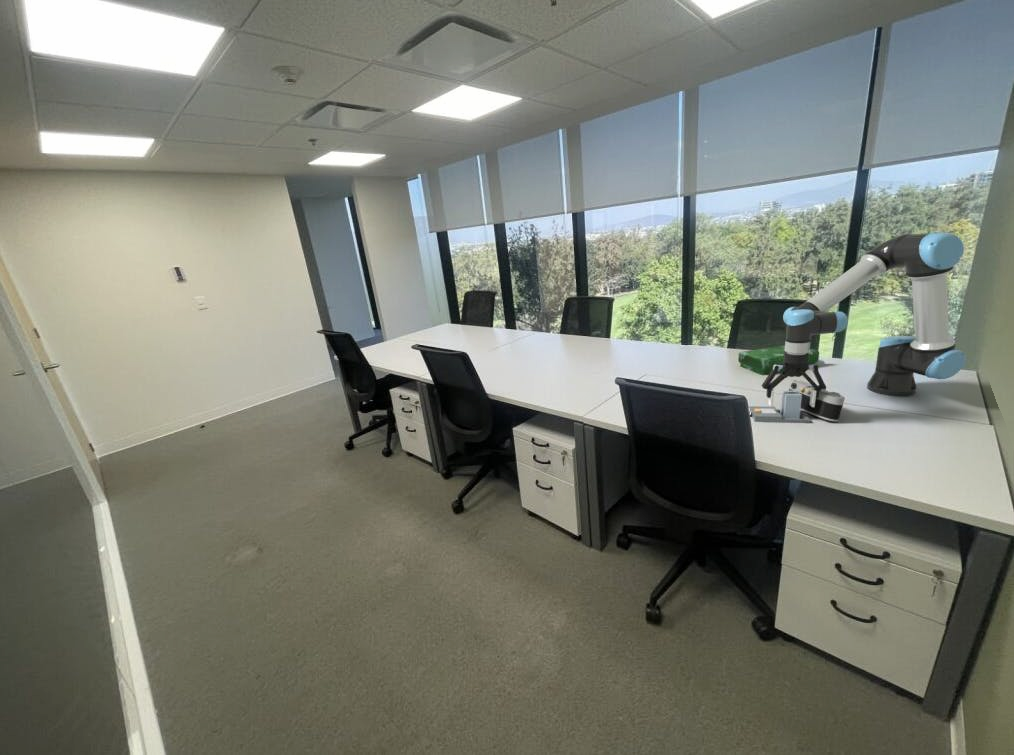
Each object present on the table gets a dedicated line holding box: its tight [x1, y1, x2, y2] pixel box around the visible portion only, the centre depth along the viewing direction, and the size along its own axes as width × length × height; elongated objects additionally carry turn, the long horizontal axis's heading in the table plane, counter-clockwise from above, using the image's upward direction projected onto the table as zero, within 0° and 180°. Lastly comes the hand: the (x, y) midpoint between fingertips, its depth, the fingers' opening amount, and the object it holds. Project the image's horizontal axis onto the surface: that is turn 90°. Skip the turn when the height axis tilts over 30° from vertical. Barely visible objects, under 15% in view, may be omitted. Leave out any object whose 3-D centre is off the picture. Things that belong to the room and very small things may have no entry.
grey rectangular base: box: [748, 405, 811, 424], centre depth 158 cm, size 21×10×3 cm, turn 72°
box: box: [737, 345, 820, 376], centre depth 208 cm, size 32×18×10 cm, turn 98°
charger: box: [780, 390, 802, 419], centre depth 156 cm, size 5×5×10 cm
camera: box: [788, 379, 846, 422], centre depth 158 cm, size 22×10×10 cm, turn 9°
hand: (790, 405), depth 156 cm, fingers open, 13 cm apart
